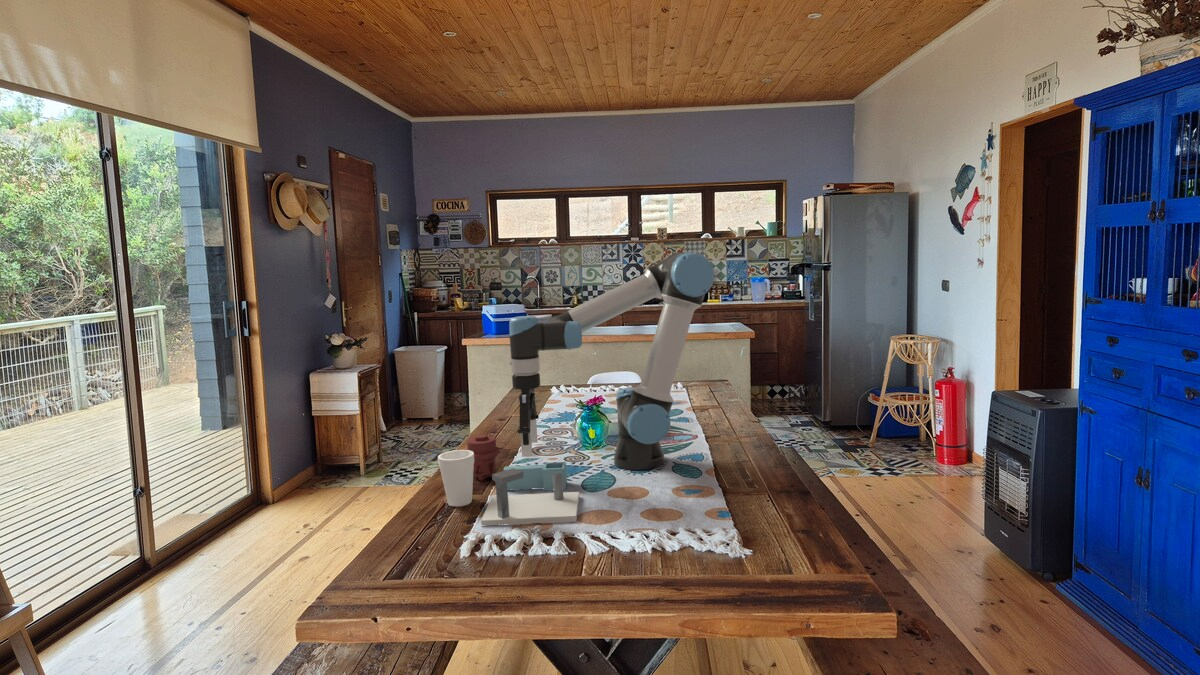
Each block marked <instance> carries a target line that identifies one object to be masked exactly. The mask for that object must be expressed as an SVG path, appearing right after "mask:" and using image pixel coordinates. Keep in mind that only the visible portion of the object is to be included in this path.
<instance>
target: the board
mask: <svg viewBox="0 0 1200 675" xmlns="http://www.w3.org/2000/svg"><path fill="white" fill-rule="evenodd" d="M553 488H554V490H553V492H551V493H550V492H547V493H546V492H545V493H528V494H510V495H509V494H508V503H509V516H510V517H507V518H504V519H502V518H500V517H498V508H497V496H496V495H493V496H491V498H490V501H489V503H488V505H487V507H486V509H485V511H484V513H483V516H482V517H481V520H480V525H499V524H500V525H501V526H505V525H504V524H508V525H507V526H517V525H520V524H521V525H532V524H531V523H542V524H556V523H557V524H559V523H560V524H561V523H576V522H577V519H578V518H577V517H578V513H579V512H578V510H579V504H580V491H570V492H569V491H568V492H567V491H566V492H565V491H564V490H563V482H562V473H554V474H553ZM502 524H503V525H502Z"/></svg>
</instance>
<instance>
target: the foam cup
mask: <svg viewBox="0 0 1200 675" xmlns="http://www.w3.org/2000/svg"><path fill="white" fill-rule="evenodd" d="M437 461H438V462H437V463H438V468H439V471H440V475H441V479H442V482H443V488H444V491H445V492H444V493H445V497H446V502H447V505H448V506H450V507H464V506H467V505H469V504H471V503H472V501H473V500H472V499H473V485H474V474H473V468H474V453H473V451H470V450H467V449H455V450H454V449H453V450H450V451H445V452H442V453H440V454H439V455H437Z"/></svg>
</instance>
